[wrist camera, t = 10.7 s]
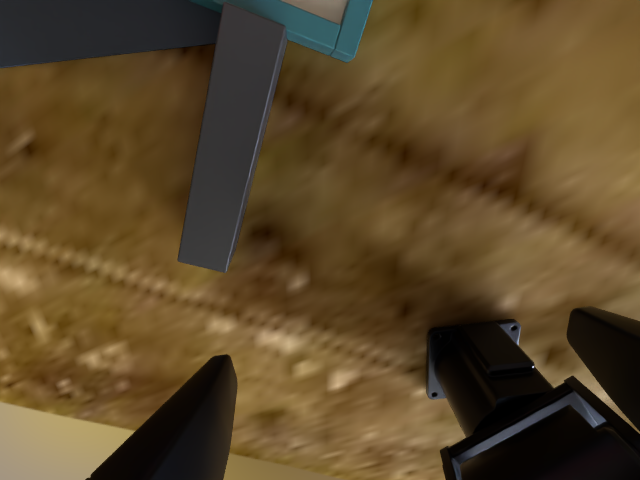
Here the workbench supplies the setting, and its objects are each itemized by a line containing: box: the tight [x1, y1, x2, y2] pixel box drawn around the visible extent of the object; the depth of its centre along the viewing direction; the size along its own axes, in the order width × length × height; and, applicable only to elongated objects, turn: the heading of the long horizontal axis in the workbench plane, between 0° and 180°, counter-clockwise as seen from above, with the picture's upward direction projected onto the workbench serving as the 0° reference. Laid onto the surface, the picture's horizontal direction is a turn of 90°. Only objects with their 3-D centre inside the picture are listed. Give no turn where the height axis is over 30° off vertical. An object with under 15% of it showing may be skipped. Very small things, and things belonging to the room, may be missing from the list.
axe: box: [178, 0, 373, 273], centre depth 14 cm, size 22×9×3 cm, turn 162°
